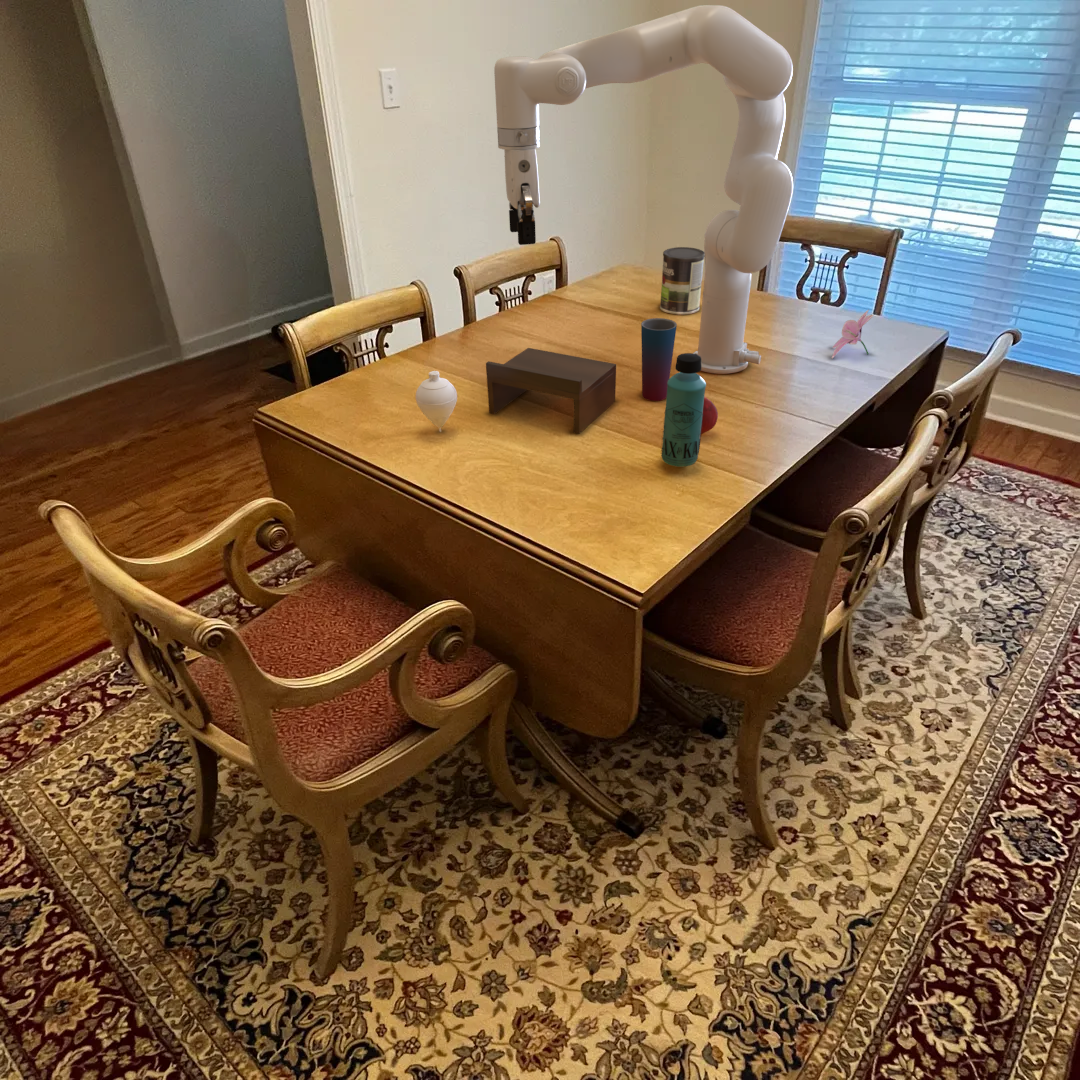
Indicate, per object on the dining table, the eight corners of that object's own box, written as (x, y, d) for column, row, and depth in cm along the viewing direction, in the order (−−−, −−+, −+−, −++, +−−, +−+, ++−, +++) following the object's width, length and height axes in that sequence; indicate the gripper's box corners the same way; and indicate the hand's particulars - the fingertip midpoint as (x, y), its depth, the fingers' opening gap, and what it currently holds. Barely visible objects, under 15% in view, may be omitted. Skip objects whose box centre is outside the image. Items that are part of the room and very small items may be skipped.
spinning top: (443, 444, 147) (437, 383, 140) (411, 435, 150) (403, 375, 143) (468, 428, 152) (463, 369, 145) (436, 419, 155) (430, 361, 148)
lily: (845, 344, 185) (831, 309, 180) (896, 335, 176) (883, 298, 172) (827, 376, 180) (812, 341, 175) (878, 368, 171) (864, 331, 166)
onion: (717, 429, 149) (722, 389, 144) (712, 443, 145) (717, 402, 140) (686, 425, 151) (690, 386, 146) (681, 438, 146) (684, 398, 142)
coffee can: (668, 316, 201) (672, 259, 193) (654, 304, 209) (657, 249, 201) (706, 312, 203) (711, 255, 195) (690, 300, 211) (695, 245, 203)
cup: (670, 403, 159) (675, 330, 150) (636, 401, 160) (639, 329, 151) (672, 390, 164) (677, 318, 156) (639, 388, 165) (643, 317, 157)
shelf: (529, 383, 168) (527, 335, 162) (615, 401, 160) (616, 351, 154) (489, 413, 157) (485, 362, 151) (579, 434, 149) (579, 381, 143)
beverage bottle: (656, 458, 140) (663, 349, 129) (693, 455, 141) (703, 347, 129) (664, 476, 135) (672, 365, 124) (702, 474, 135) (714, 362, 124)
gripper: (548, 143, 135) (550, 247, 145) (530, 130, 149) (533, 225, 159) (505, 146, 134) (510, 250, 144) (491, 132, 148) (496, 228, 158)
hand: (522, 237), depth 151 cm, fingers open, 9 cm apart
